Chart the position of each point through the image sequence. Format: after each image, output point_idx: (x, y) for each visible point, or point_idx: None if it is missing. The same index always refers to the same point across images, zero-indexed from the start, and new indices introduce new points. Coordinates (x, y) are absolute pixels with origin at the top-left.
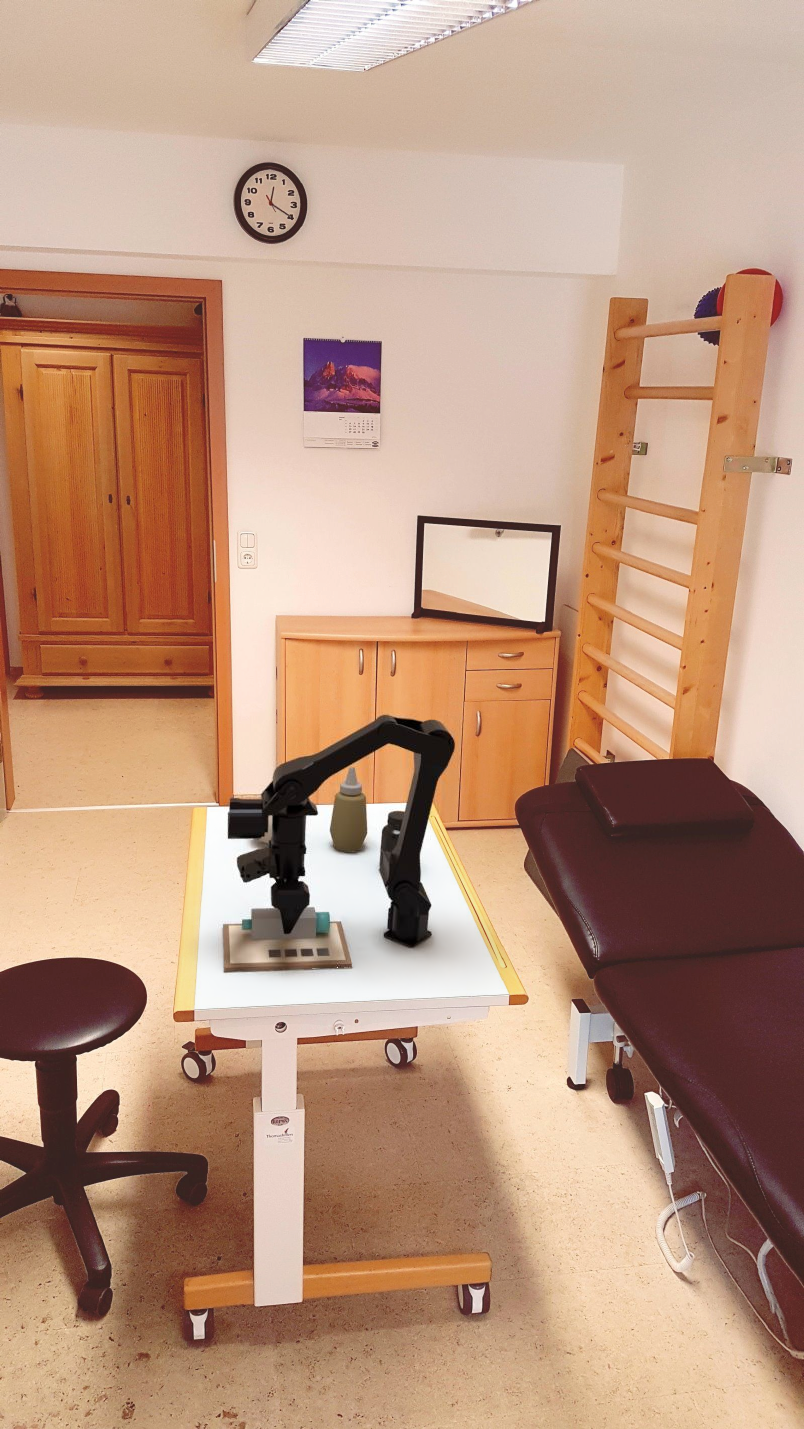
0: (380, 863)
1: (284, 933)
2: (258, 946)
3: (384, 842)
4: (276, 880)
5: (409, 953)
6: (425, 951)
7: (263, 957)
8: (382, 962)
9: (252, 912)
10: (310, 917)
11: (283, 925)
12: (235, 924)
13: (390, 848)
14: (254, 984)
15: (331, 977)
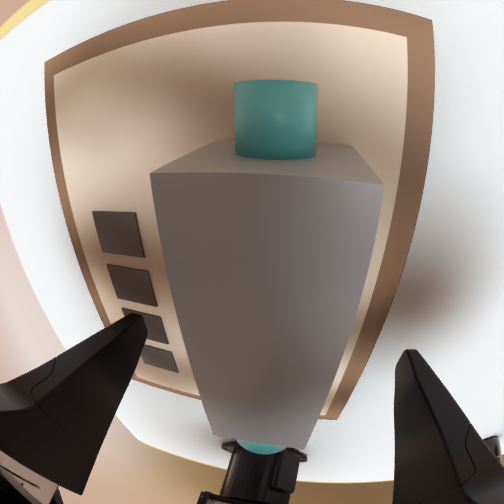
0: (489, 447)
1: (131, 314)
2: None
3: None
4: (459, 498)
5: (206, 436)
6: (214, 446)
7: (89, 190)
8: (169, 408)
9: (289, 184)
10: (213, 426)
11: (89, 339)
12: (426, 78)
13: None
14: (25, 160)
15: (93, 329)
